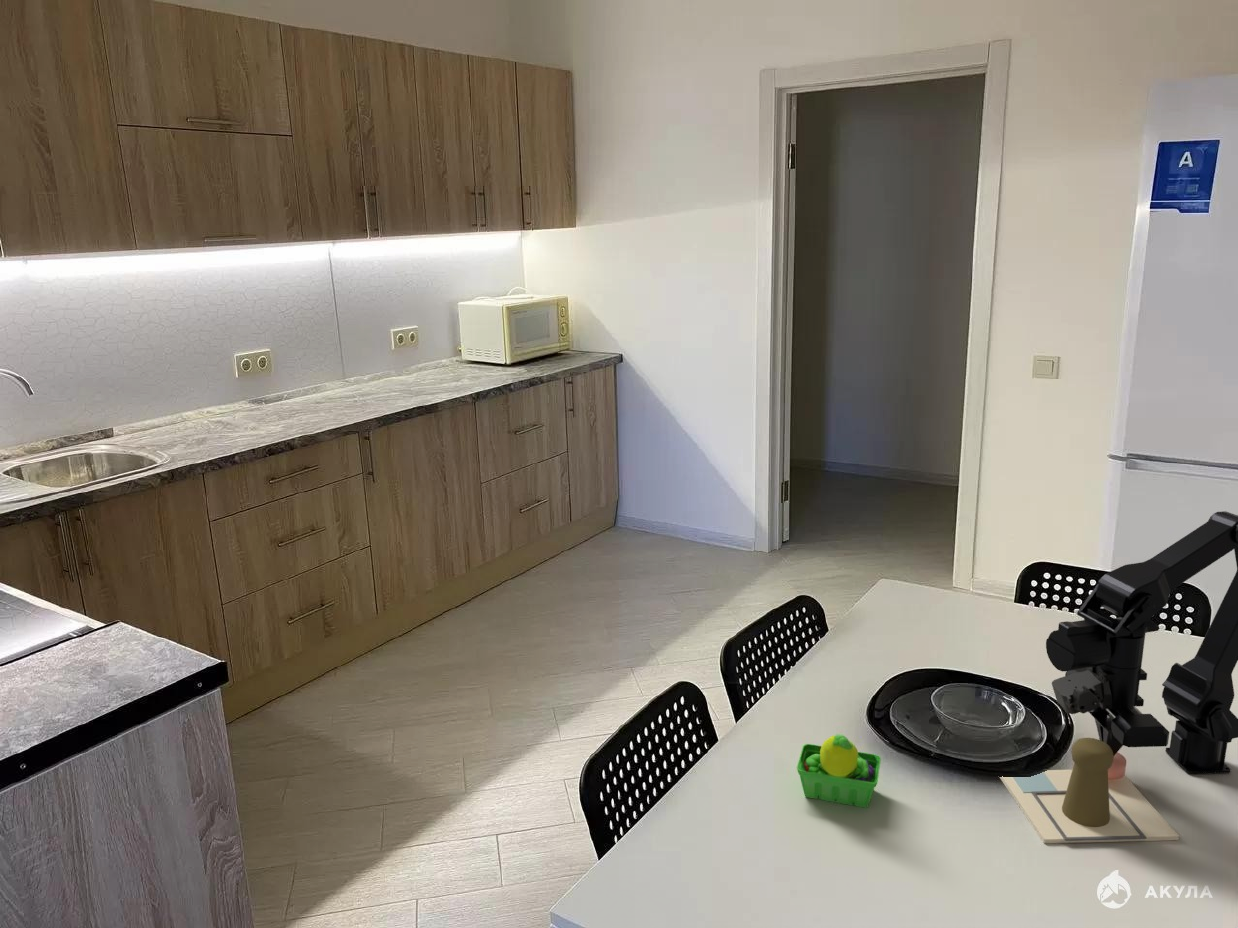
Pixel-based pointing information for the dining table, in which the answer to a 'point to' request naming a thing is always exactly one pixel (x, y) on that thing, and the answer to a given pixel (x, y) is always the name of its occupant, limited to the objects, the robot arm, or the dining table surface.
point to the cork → (1089, 783)
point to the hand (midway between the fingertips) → (1107, 756)
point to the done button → (1117, 767)
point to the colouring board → (1045, 814)
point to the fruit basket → (838, 772)
